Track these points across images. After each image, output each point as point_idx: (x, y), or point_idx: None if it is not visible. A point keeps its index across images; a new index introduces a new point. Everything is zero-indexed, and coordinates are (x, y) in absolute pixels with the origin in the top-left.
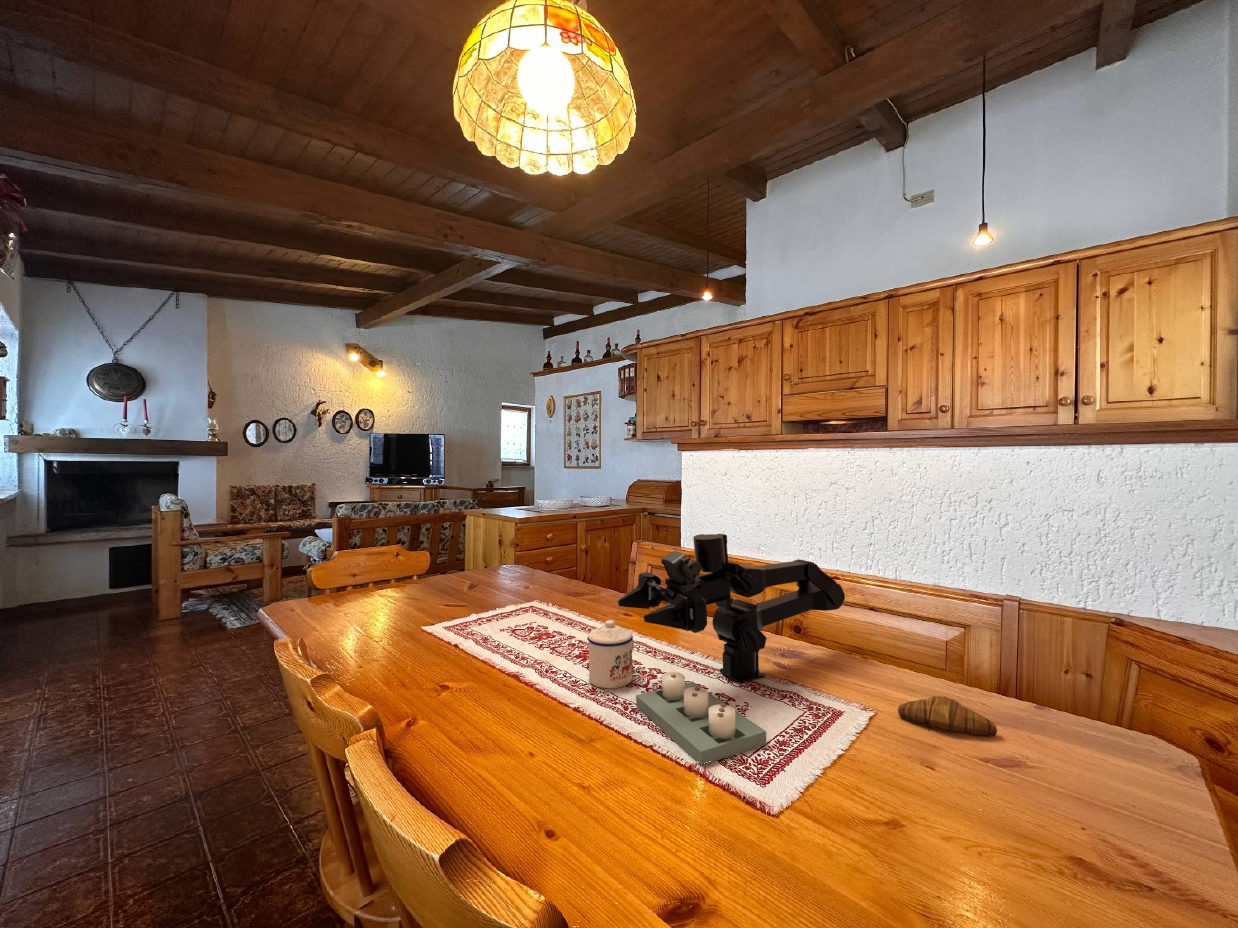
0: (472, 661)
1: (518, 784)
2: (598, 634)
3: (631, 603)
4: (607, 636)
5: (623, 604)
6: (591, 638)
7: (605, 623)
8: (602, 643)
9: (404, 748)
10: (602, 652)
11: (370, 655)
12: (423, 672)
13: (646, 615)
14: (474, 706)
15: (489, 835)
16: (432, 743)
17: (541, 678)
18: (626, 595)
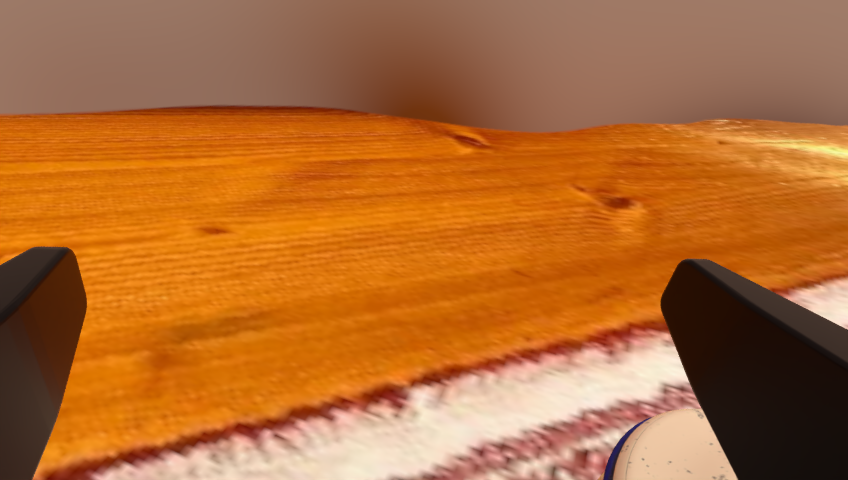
0: (774, 273)
1: (119, 183)
2: (711, 439)
3: (760, 446)
4: (676, 476)
5: (687, 336)
6: (685, 409)
7: None
8: (623, 448)
9: (378, 119)
10: (602, 477)
11: (779, 159)
12: (698, 194)
13: (25, 255)
14: (504, 216)
15: (16, 122)
16: (374, 142)
17: (655, 381)
18: (813, 323)
